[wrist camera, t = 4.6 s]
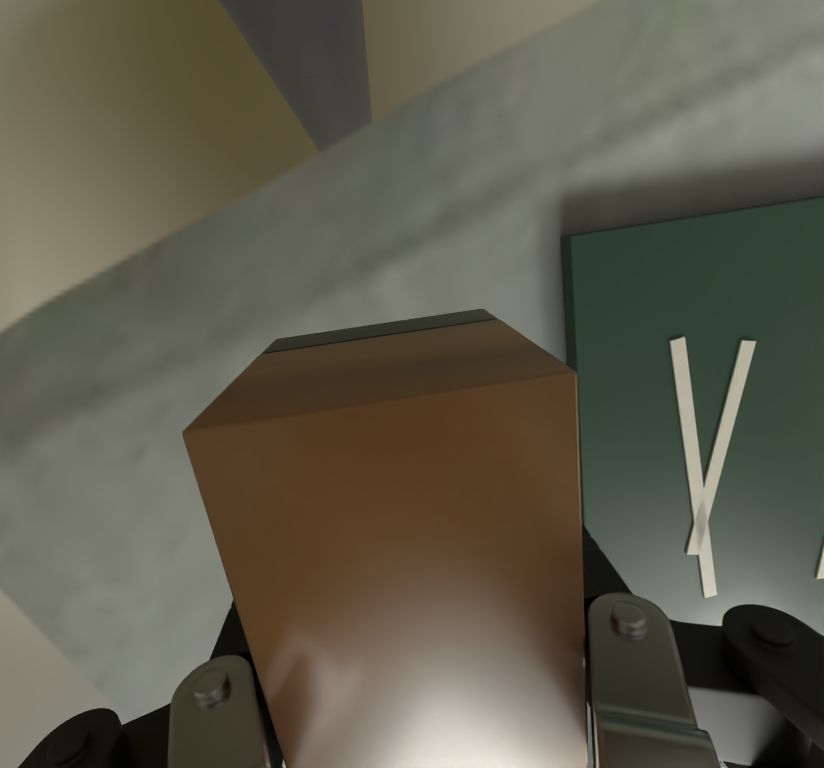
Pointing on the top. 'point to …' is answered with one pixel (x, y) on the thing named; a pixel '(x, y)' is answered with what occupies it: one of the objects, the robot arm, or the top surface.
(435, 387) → the eraser
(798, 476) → the slate board
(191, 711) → the robot arm
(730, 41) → the top surface
